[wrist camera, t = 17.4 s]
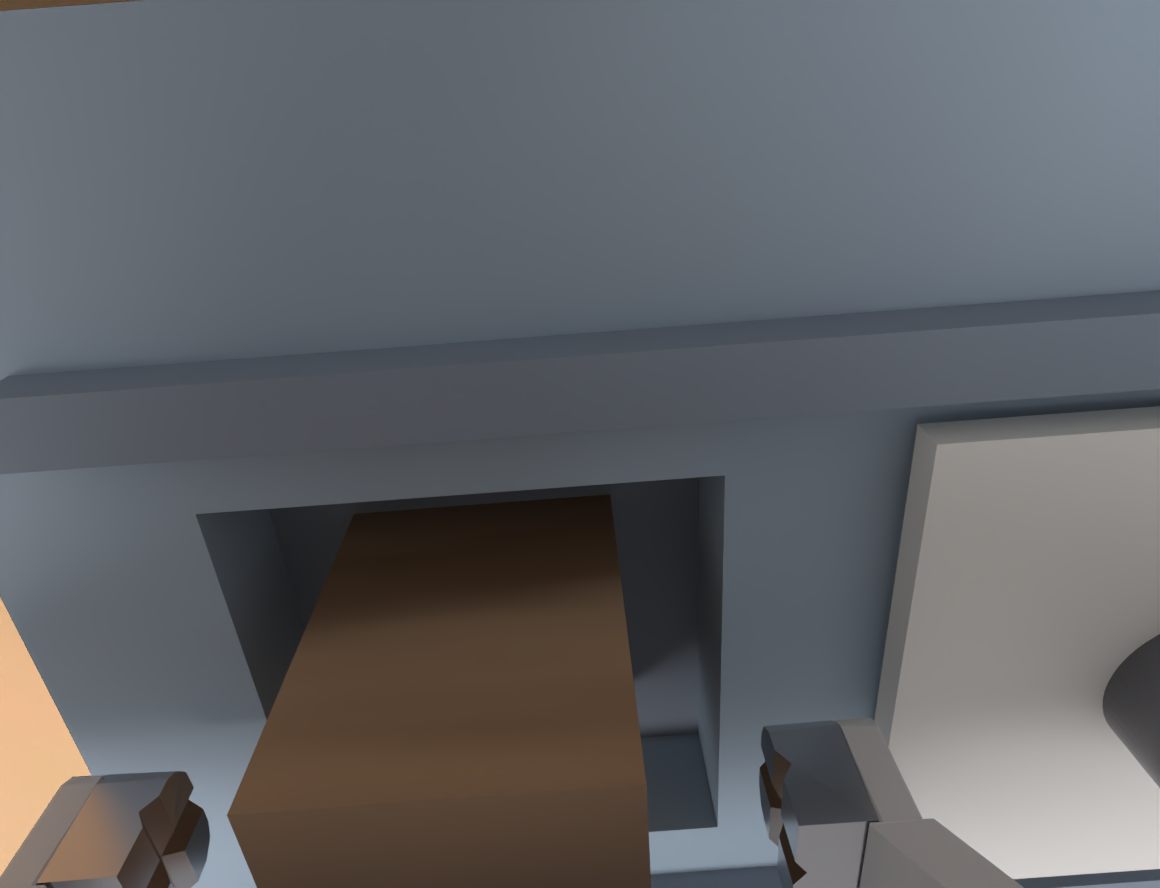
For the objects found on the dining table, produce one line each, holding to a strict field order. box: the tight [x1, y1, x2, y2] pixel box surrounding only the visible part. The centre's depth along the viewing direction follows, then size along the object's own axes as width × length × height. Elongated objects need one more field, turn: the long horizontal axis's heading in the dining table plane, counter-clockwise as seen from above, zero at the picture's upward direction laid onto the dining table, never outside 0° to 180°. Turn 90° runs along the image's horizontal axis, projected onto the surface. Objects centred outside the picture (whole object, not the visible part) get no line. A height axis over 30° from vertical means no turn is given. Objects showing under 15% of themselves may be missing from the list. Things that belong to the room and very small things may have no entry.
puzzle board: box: [0, 0, 1160, 888], centre depth 13 cm, size 20×22×3 cm
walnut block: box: [227, 494, 651, 888], centre depth 12 cm, size 4×4×6 cm
